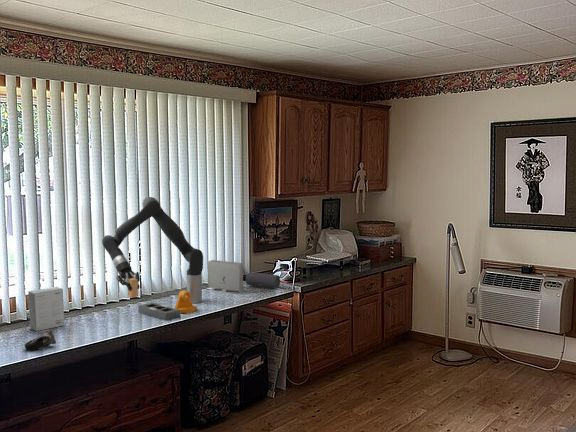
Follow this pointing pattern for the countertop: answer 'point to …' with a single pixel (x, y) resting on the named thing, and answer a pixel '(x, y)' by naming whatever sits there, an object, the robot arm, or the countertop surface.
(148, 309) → the rail
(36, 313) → the hard drive box
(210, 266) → the network device
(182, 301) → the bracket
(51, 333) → the caster wheel
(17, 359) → the countertop surface
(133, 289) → the peg
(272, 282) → the bluetooth speaker
